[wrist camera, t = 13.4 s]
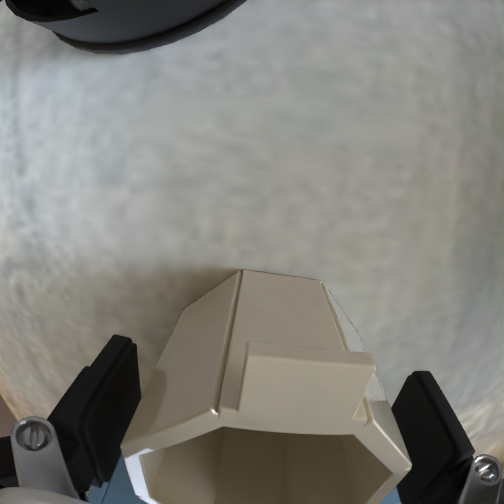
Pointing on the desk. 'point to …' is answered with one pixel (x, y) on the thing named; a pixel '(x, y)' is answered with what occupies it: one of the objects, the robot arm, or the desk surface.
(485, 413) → the desk surface
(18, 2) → the french press
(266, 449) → the jug
